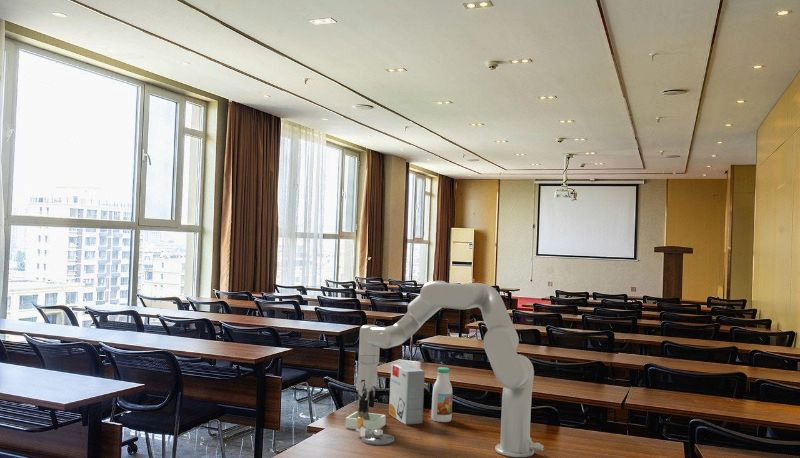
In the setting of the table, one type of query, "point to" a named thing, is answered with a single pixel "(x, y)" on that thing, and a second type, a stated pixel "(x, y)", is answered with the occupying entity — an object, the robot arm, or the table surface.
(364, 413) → the grenade model
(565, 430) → the table surface
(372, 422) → the tray
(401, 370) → the hard drive box
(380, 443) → the crank base
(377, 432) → the crank lever
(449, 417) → the milk bottle
